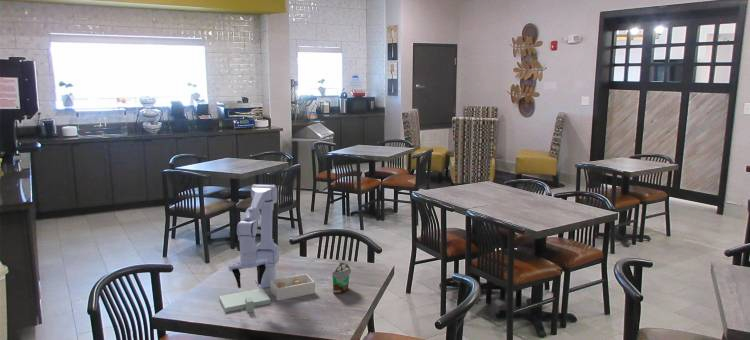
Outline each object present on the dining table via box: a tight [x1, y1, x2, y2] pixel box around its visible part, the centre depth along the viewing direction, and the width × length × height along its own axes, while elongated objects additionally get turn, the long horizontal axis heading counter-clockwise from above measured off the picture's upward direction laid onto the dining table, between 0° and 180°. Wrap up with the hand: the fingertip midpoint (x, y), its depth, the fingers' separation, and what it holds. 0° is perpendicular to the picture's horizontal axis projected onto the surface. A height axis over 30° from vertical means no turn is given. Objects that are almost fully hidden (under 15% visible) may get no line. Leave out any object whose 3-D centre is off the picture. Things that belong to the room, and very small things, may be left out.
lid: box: [218, 288, 271, 313], centre depth 211 cm, size 15×18×4 cm
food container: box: [331, 262, 352, 295], centre depth 224 cm, size 12×6×10 cm, turn 168°
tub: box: [269, 273, 316, 301], centre depth 222 cm, size 10×16×5 cm, turn 117°
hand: (249, 285), depth 205 cm, fingers open, 7 cm apart
